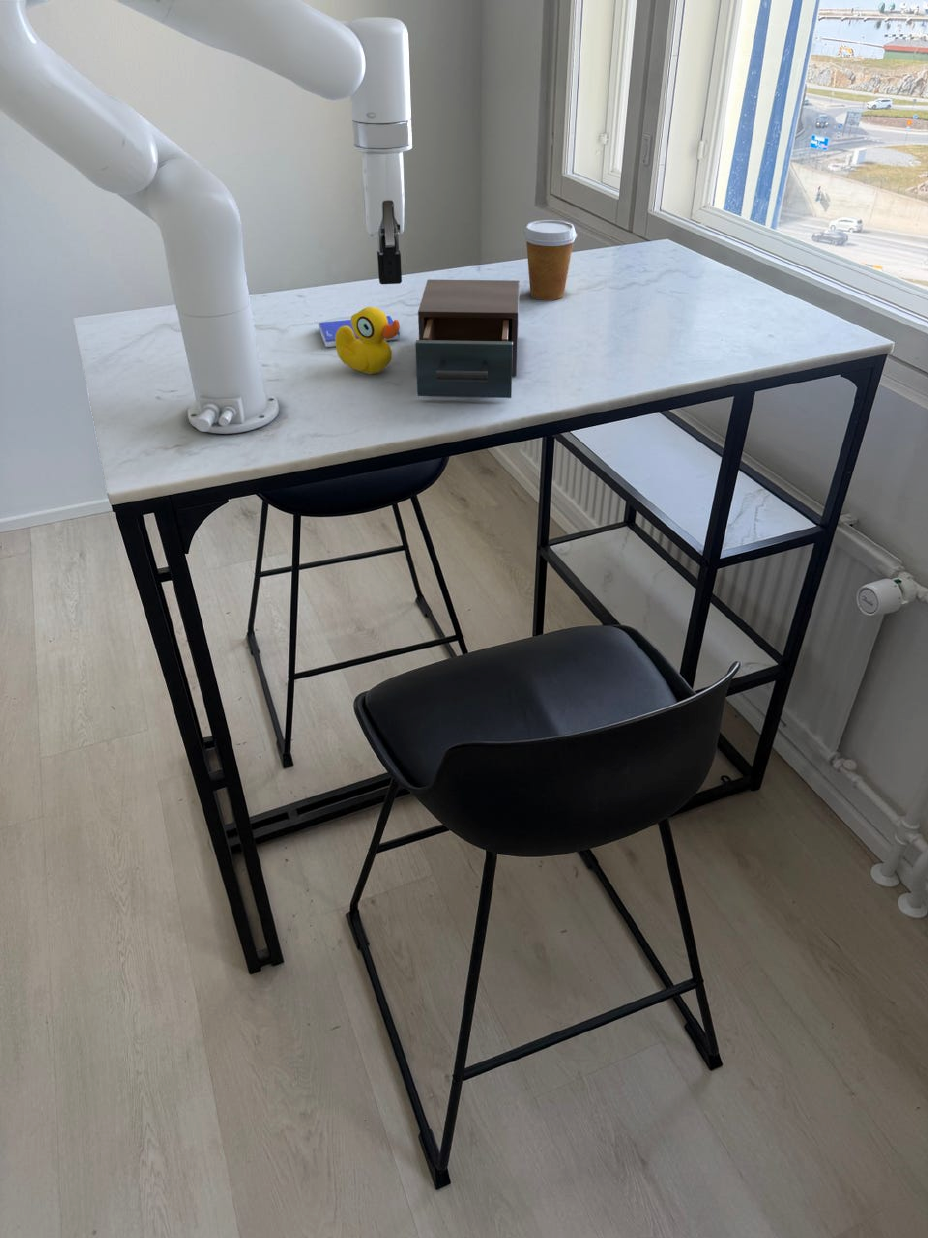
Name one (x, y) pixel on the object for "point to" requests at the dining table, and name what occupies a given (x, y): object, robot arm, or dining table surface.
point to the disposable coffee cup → (549, 257)
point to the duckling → (366, 341)
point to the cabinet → (472, 304)
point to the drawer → (465, 358)
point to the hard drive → (331, 328)
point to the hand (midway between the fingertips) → (390, 281)
